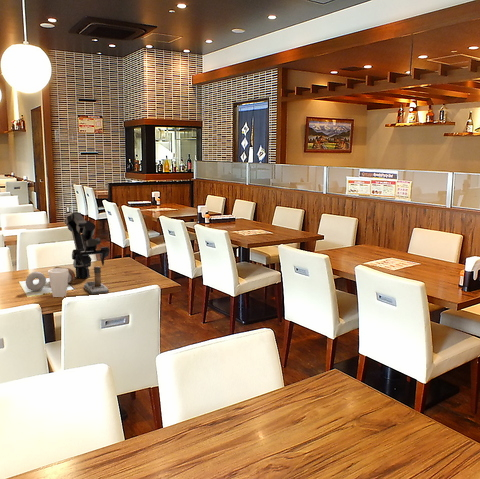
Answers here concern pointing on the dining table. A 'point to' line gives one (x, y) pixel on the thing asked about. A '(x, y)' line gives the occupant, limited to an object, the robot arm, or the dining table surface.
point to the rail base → (96, 290)
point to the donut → (31, 277)
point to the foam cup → (58, 281)
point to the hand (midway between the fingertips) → (94, 266)
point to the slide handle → (97, 277)
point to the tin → (71, 275)
